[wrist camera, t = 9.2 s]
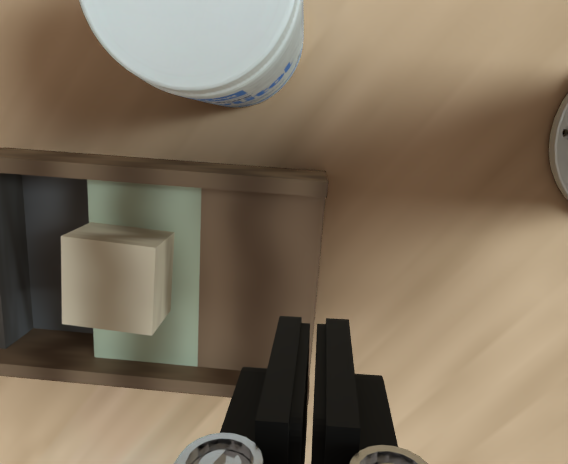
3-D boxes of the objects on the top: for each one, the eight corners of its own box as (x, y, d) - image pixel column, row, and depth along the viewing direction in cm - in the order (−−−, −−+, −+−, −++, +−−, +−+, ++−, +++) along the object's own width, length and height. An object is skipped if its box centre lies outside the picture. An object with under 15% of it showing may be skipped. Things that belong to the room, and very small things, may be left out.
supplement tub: (223, 133, 34) (159, 143, 20) (145, 21, 32) (15, -56, 18) (332, 54, 32) (348, 2, 18) (255, -68, 31) (206, -232, 16)
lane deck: (325, 171, 34) (328, 181, 28) (308, 361, 38) (308, 404, 32) (4, 147, 35) (-57, 153, 29) (20, 335, 39) (-31, 372, 33)
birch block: (174, 232, 32) (155, 247, 28) (170, 310, 33) (151, 335, 29) (91, 221, 32) (60, 236, 28) (90, 300, 33) (61, 324, 30)
